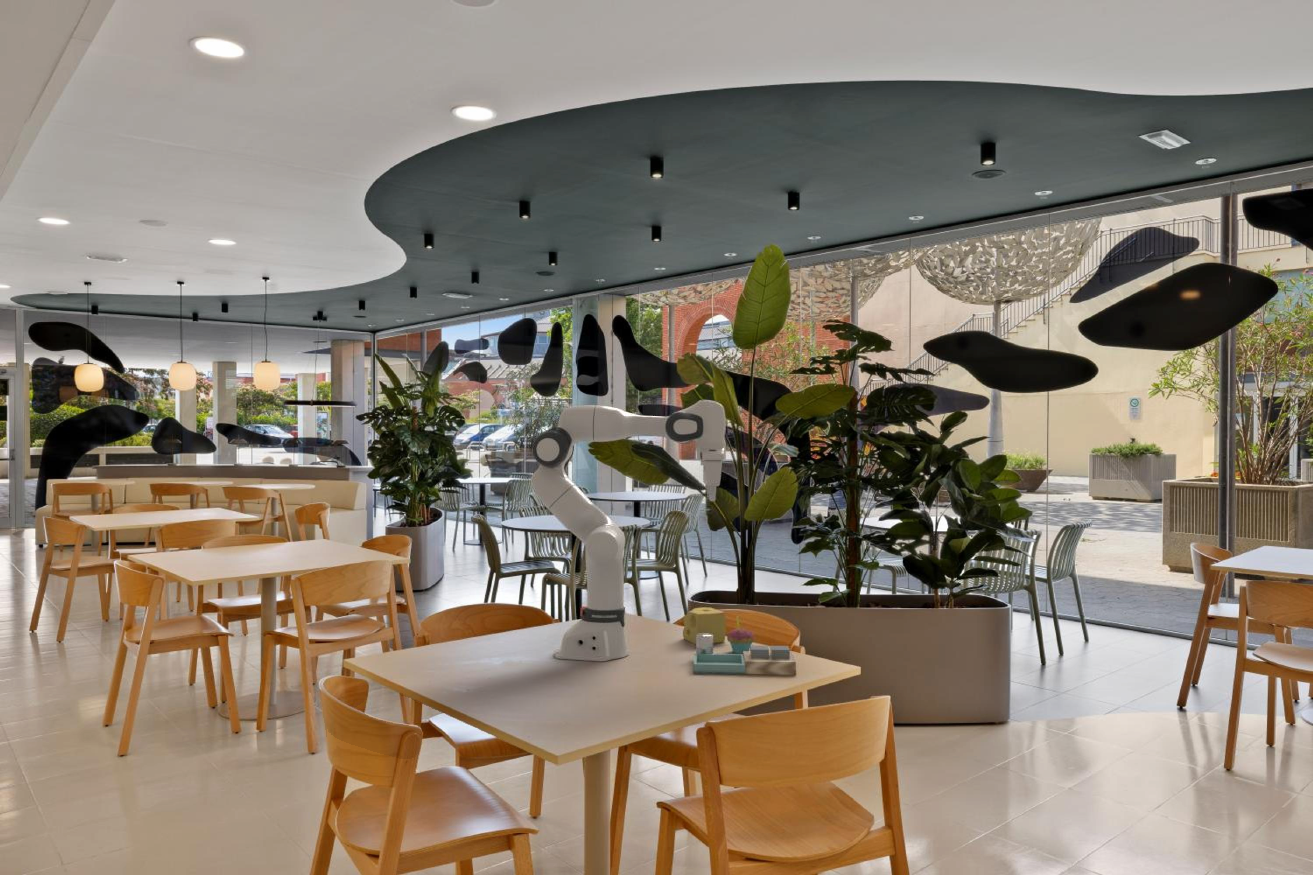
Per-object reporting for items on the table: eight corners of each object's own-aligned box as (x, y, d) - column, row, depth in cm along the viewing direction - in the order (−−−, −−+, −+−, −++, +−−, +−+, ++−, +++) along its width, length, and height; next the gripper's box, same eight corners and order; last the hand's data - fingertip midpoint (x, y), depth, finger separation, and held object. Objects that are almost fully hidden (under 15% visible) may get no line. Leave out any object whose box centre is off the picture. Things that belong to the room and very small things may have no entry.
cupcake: (745, 656, 272) (745, 616, 272) (721, 652, 277) (721, 613, 277) (759, 651, 278) (759, 612, 279) (736, 647, 284) (736, 609, 284)
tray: (694, 672, 252) (694, 663, 252) (694, 662, 265) (694, 653, 265) (745, 673, 251) (745, 664, 251) (743, 662, 264) (743, 654, 264)
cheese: (682, 639, 296) (682, 608, 296) (711, 636, 300) (711, 606, 300) (697, 645, 286) (697, 614, 286) (727, 642, 291) (727, 611, 291)
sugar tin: (696, 660, 267) (696, 636, 267) (696, 656, 272) (696, 633, 272) (713, 660, 267) (713, 636, 267) (713, 656, 272) (713, 633, 272)
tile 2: (771, 658, 255) (771, 649, 255) (770, 654, 260) (770, 645, 260) (789, 658, 255) (789, 649, 255) (787, 654, 260) (788, 645, 260)
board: (745, 673, 252) (745, 661, 252) (743, 663, 264) (743, 651, 264) (795, 674, 251) (795, 661, 251) (791, 663, 263) (791, 651, 263)
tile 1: (751, 658, 255) (751, 649, 255) (750, 653, 260) (750, 645, 260) (768, 658, 255) (768, 649, 255) (767, 654, 260) (767, 645, 260)
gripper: (698, 453, 282) (698, 497, 282) (702, 454, 261) (702, 502, 261) (718, 453, 282) (719, 497, 282) (724, 454, 262) (724, 502, 261)
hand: (711, 500), depth 272 cm, fingers open, 8 cm apart
